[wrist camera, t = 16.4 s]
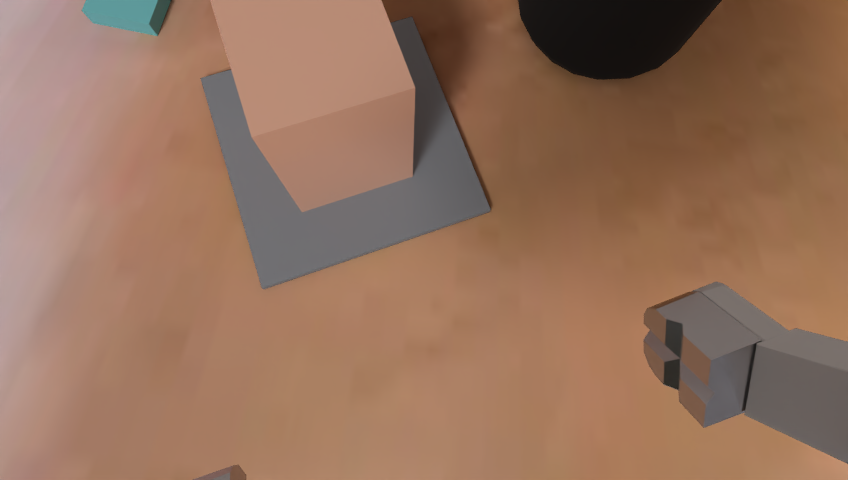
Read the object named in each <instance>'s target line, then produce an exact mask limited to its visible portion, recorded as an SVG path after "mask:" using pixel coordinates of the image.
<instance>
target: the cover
mask: <svg viewBox="0 0 848 480" xmlns="http://www.w3.org/2000/svg"><path fill="white" fill-rule="evenodd" d="M210 1H211V4H212V8H213V11H214V14H215V18H216V21H217V24H218V28H219V31H220V34H221V38H222V41H223V44H224V47H225V51H226V54H227V57H228V61H229V64H230V67H231V71H232V74H233V77H234V81H235V84H236V87H237V91H238V94H239V97H240V101H241V104H242V107H243V110H244V114H245V117H246V120H247V124H248V127H249V130H250V134H251V137H252V139H253V140H254V142H255V143H256V145H257V146H258V148H259V149H260V151H261V152H262V154H263V155H264V157H265V158H266V160H267V161H268V163H269V164H270V165H271V167H272V168H273V170H274V171H275V173H276V174H277V176H278V177H279V179H280V180H281V182H282V183H283V185H284V186H285V188H286V189H287V191H288V192H289V194H290V195H291V197H292V198H293V200H294V201H295V203H296V204H297V206H298V207H299V209H300V210H301V212H305V211H308V210H311V209H314V208H317V207H320V206H323V205H326V204H329V203H332V202H336V201H339V200H342V199H345V198H348V197H351V196H354V195H357V194H360V193H363V192H367V191H370V190H373V189H376V188H379V187H382V186H385V185H388V184H391V183H394V182H397V181H401V180H404V179H407V178H410V177H413V146H414V115H415V86H414V83H413V80H412V78H411V75H410V73H409V70H408V67H407V65H406V62H405V60H404V57H403V55H402V52H401V49H400V47H399V44H398V42H397V39H396V37H395V34H394V31H393V29H392V26H391V24H390V21H389V19H388V16H387V13H386V11H385V8H384V6H383V3H382V1H381V0H210Z"/></svg>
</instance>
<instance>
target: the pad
mask: <svg viewBox="0 0 848 480" xmlns="http://www.w3.org/2000/svg"><path fill="white" fill-rule="evenodd" d="M390 24H391V26H392V29H393V31H394V34H395V37H396V39H397V42H398V44H399V47H400V49H401V52H402V55H403V57H404V60H405V62H406V65H407V67H408V70H409V73H410V75H411V78H412V80H413V83H414V86H415V115H414V146H413V177H410V178H407V179H404V180H401V181H397V182H394V183H391V184H388V185H385V186H382V187H379V188H376V189H373V190H370V191H367V192H363V193H360V194H357V195H354V196H351V197H348V198H345V199H342V200H339V201H336V202H332V203H329V204H326V205H323V206H320V207H317V208H314V209H311V210H308V211H305V212H301V210H300V209H299V207H298V206H297V204H296V203H295V201H294V200H293V198H292V197H291V195H290V194H289V192H288V191H287V189H286V188H285V186H284V185H283V183H282V182H281V180H280V179H279V177H278V176H277V174H276V173H275V171H274V170H273V168H272V167H271V165H270V164H269V163H268V161H267V160H266V158H265V157H264V155H263V154H262V152H261V151H260V149H259V148H258V146H257V145H256V143H255V142H254V140H253V139H252V137H251V134H250V130H249V127H248V124H247V120H246V117H245V114H244V110H243V107H242V104H241V101H240V97H239V94H238V91H237V87H236V84H235V81H234V77H233V74H232V71H231V70H227V71H224V72H220V73H217V74H214V75H210V76H207V77H203V78H201V81H202V85H203V88H204V92H205V95H206V99H207V102H208V105H209V109H210V112H211V116H212V119H213V122H214V126H215V129H216V133H217V136H218V140H219V143H220V146H221V150H222V153H223V157H224V160H225V163H226V167H227V170H228V174H229V177H230V181H231V184H232V187H233V191H234V194H235V198H236V201H237V204H238V208H239V211H240V215H241V218H242V222H243V225H244V228H245V232H246V235H247V239H248V242H249V245H250V249H251V252H252V256H253V259H254V263H255V266H256V269H257V273H258V276H259V280H260V283H261V287H262V288H263V289H266V288H269V287H272V286H275V285H278V284H281V283H284V282H287V281H290V280H293V279H295V278H298V277H301V276H304V275H307V274H310V273H313V272H316V271H319V270H322V269H325V268H328V267H330V266H333V265H336V264H339V263H342V262H345V261H348V260H351V259H354V258H357V257H360V256H363V255H365V254H368V253H371V252H374V251H377V250H380V249H383V248H386V247H389V246H392V245H395V244H398V243H400V242H403V241H406V240H409V239H412V238H415V237H418V236H421V235H424V234H427V233H430V232H433V231H435V230H438V229H441V228H444V227H447V226H450V225H453V224H456V223H459V222H462V221H465V220H468V219H470V218H473V217H476V216H479V215H482V214H485V213H488V212H490V210H491V209H490V207H489V204H488V202H487V199H486V197H485V194H484V192H483V189H482V187H481V185H480V182H479V180H478V177H477V175H476V172H475V170H474V167H473V165H472V162H471V160H470V158H469V155H468V153H467V150H466V148H465V145H464V143H463V140H462V138H461V135H460V133H459V131H458V128H457V126H456V123H455V121H454V118H453V116H452V113H451V111H450V109H449V106H448V104H447V101H446V99H445V96H444V94H443V91H442V89H441V86H440V84H439V82H438V79H437V77H436V74H435V72H434V69H433V67H432V64H431V62H430V59H429V57H428V55H427V52H426V50H425V47H424V45H423V42H422V40H421V37H420V35H419V32H418V30H417V28H416V25H415V23H414V20H413V18H412V17H409V18H405V19H402V20H398V21H395V22H392V23H390Z"/></svg>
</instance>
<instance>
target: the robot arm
mask: <svg viewBox="0 0 848 480" xmlns="http://www.w3.org/2000/svg"><path fill="white" fill-rule="evenodd" d="M644 324H645V325H646V326H647V327H648V328H649V329H650V331H649V332H648V334H647V335H646V337H645V339H644V354H645V356H646V359H647V362H648V364H649V366H650V368H651V369H652V371H653V373H654V374H655V375H656V377H657V378H658V379H659V380H660V381H661V382H662V383H663V384H664V385H666V386H669V387H672V388H674V389H677V390H678V393H679V402H680V403H681V404H682V405H683V406H684V407H685V408H686V409H687V411H688V412H689V413H690V414H691V415H692V416H693V417H694V418H695V419H696V420H697V421H698V422H699V423H700V425H701V426H702V427H703V428H704V427H707V426H710V425H712V424H715V423H718V422H720V421H723V420H726V419H728V418H731V417H734V416H736V415H739V414H741V413H744V412H745V415H746V416H748V417H750V418H752V419H754V420H756V421H758V422H761V423H763V424H765V425H767V426H769V427H771V428H773V429H775V430H777V431H780V432H782V433H784V434H786V435H788V436H790V437H792V438H794V439H796V440H799V441H801V442H803V443H805V444H807V445H809V446H811V447H813V448H815V449H818V450H820V451H822V452H824V453H826V454H828V455H830V456H832V457H834V458H837V459H839V460H841V461H843V462H845V463H847V464H848V342H847V341H843V340H839V339H835V338H831V337H827V336H824V335H820V334H816V333H812V332H808V331H804V330H801V329H797V328H796V329H793V330H790V331H788V330H787V329H786V328H784V327H783V326H782V325H780V324H779V323H777V322H776V321H775V320H773V319H772V318H770V317H769V316H768V315H766V314H765V313H764V312H762V311H761V310H759V309H758V308H757V307H755V306H754V305H753V304H751V303H750V302H748V301H747V300H746V299H744V298H743V297H741V296H740V295H739V294H737V293H736V292H735V291H733V290H732V289H730V288H729V287H728V286H726V285H725V284H723V283H719V282H714V283H712V284H709V285H706V286H704V287H701V288H698V289H696V290H693V291H692V292H687V293H685V294H682V295H680V296H677V297H674V298H672V299H669V300H667V301H664V302H662V303H659V304H657V305H654V306H652V307H649V308H647V309H646V311H645V313H644ZM193 480H246V474H245V473H244V471H243V470H242V469H241V467H240V466H239V465H233V466H230V467H228V468H225V469H222V470H219V471H216V472H213V473H210V474H208V475H205V476H202V477H199V478H196V479H193Z"/></svg>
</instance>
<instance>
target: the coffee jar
mask: <svg viewBox="0 0 848 480" xmlns="http://www.w3.org/2000/svg"><path fill="white" fill-rule="evenodd" d="M721 1H722V0H518V2H519V9H520V16H521V19H522V21H523V23H524V25H525V27H526V29H527V31H528V33H529V35H530V37H531V39H532V41H533V42H534V43H535V44H536V46H537V47H538V48H539V49H540V50H541V51H542V52H543V53H544V54H545V55H546V56H547V57H548V58H549V59H550V60H551V61H552V62H553V63H555V64H557V65H559V66H561V67H562V68H564V69H566V70H568V71H569V72H571V73H573V74H577V75H581V76H585V77H589V78H593V79H624V78H631V77H634V76H637V75H639V74H642V73H645V72H648V71H650V70H653V69H656V68H658V67H660V66H661V65H662V64H663V63H665V62H666V61H667V60H668V59H669V58H671V57H672V56H673V55H674V54H676V53H677V52H678V51H679V50H680V48H681V47H682V46H683V45H684V44H685V43H686V41H687V40H688V39H689V38H690V37H691V36H692V34H693V33H694V32H695V31H696V30H697V29H698V27H699V26H700V25H701V24H702V23H703V22H704V20H705V19H706V18H707V17H708V16H709V15H710V13H711V12H712V11H713V10H714V9H715V8H716V6H717V5H718V4H719V3H720V2H721Z"/></svg>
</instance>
